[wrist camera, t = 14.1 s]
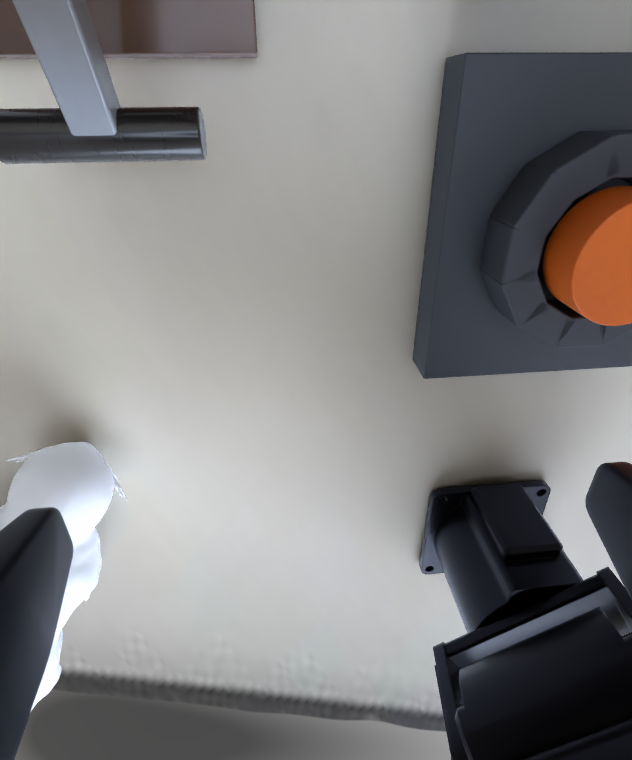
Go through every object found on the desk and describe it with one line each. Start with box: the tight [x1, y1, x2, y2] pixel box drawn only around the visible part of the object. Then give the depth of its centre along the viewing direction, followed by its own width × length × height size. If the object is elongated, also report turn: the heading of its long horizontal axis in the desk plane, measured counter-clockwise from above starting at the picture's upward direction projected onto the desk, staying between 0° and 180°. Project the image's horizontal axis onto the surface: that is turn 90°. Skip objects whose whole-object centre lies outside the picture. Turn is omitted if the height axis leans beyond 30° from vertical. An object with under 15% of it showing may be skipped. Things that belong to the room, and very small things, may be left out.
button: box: [543, 186, 632, 326], centre depth 15 cm, size 4×4×2 cm
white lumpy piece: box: [0, 442, 127, 711], centre depth 19 cm, size 6×8×12 cm
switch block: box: [413, 53, 632, 379], centre depth 17 cm, size 11×10×4 cm
